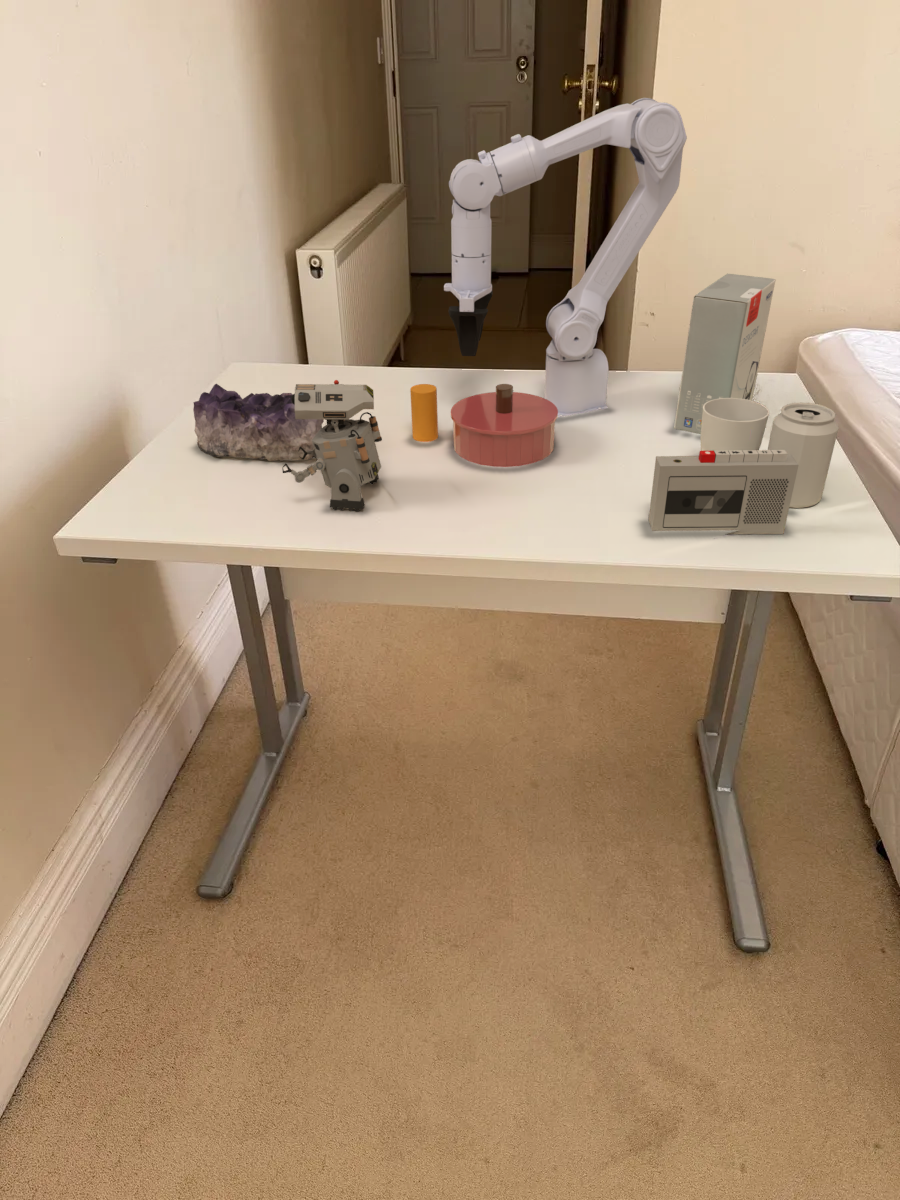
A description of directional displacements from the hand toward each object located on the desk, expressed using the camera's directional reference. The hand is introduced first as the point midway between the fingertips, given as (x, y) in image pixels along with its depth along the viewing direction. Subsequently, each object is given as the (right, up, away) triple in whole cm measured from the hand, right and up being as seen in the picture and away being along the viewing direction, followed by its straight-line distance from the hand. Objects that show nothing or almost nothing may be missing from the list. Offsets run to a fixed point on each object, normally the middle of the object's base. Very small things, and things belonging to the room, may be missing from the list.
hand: (471, 347), depth 131 cm
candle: (-7, -15, -3) cm, 17 cm away
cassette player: (+29, -30, -27) cm, 50 cm away
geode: (-31, -17, -5) cm, 35 cm away
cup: (+33, -23, -16) cm, 44 cm away
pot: (+5, -17, -6) cm, 18 cm away
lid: (+4, -12, -9) cm, 16 cm away
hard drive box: (+37, -11, +1) cm, 39 cm away
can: (+40, -26, -21) cm, 52 cm away
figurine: (-18, -25, -17) cm, 35 cm away
